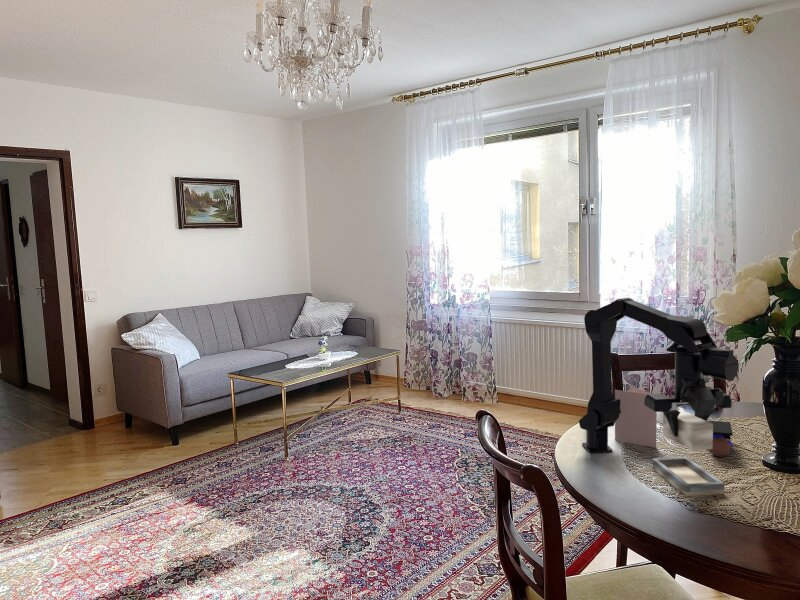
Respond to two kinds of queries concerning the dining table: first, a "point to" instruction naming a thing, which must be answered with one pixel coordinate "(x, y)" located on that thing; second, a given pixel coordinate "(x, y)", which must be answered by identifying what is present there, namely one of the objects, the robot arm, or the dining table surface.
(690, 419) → the block
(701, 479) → the jig board
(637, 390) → the greeting card
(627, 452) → the dining table surface
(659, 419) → the inkwell
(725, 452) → the figurine character
